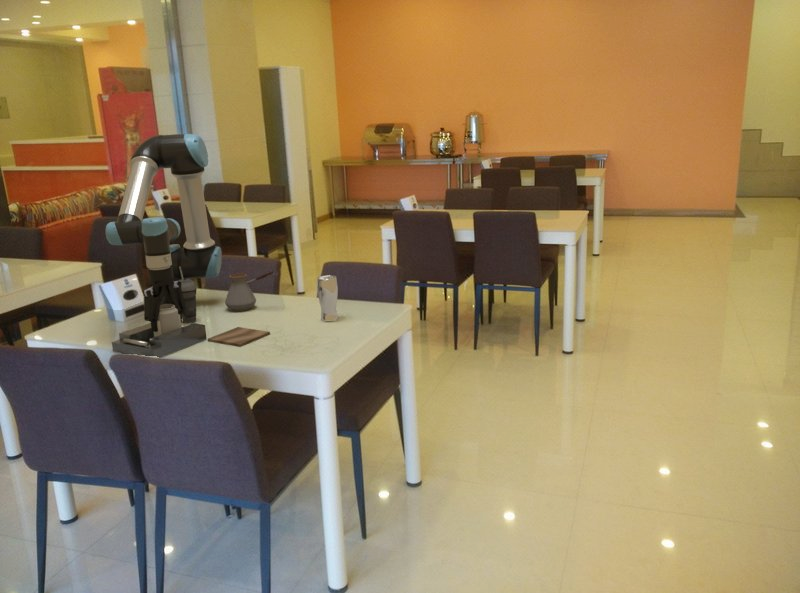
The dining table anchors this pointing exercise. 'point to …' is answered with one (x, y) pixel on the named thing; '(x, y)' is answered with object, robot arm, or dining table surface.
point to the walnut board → (238, 336)
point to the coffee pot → (241, 292)
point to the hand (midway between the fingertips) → (168, 336)
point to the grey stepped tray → (158, 340)
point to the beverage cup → (188, 299)
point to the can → (168, 318)
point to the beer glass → (328, 297)
